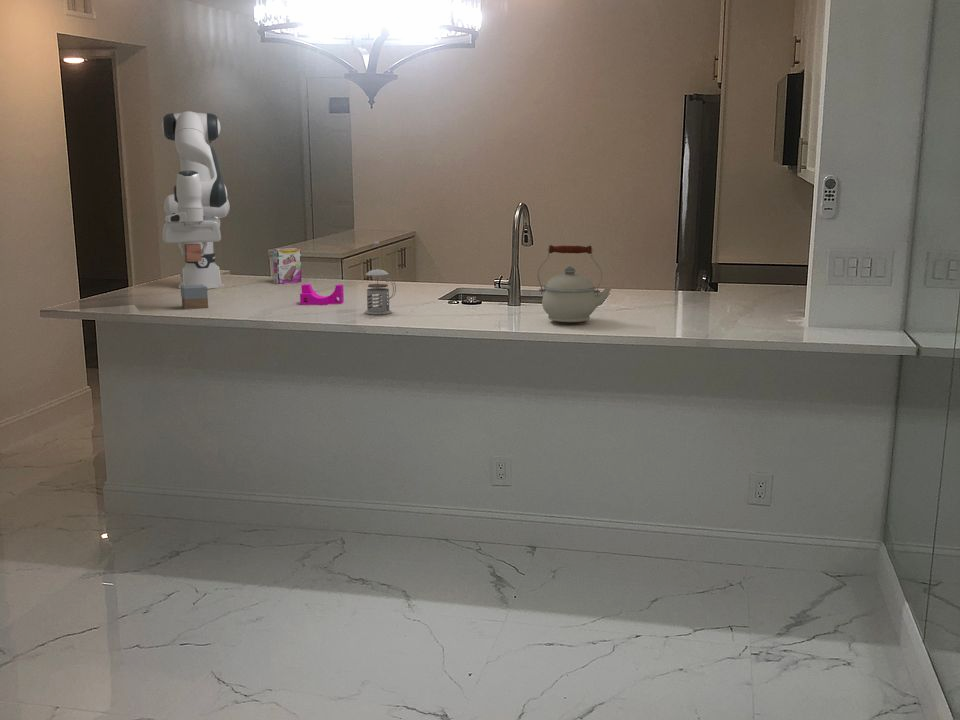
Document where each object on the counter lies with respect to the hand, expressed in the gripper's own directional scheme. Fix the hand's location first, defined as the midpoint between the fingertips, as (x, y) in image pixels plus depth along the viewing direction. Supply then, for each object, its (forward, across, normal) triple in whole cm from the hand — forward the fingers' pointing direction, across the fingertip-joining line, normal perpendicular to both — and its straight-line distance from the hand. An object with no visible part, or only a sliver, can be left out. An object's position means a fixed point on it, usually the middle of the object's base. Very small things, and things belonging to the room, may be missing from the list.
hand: (193, 255), depth 341 cm
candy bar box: (+19, -45, -43) cm, 65 cm away
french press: (+20, -57, +41) cm, 73 cm away
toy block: (+20, -44, +13) cm, 50 cm away
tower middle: (+15, 0, 0) cm, 15 cm away
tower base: (+19, 0, 0) cm, 19 cm away
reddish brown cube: (+2, 0, 0) cm, 2 cm away
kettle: (+20, -111, +82) cm, 140 cm away
